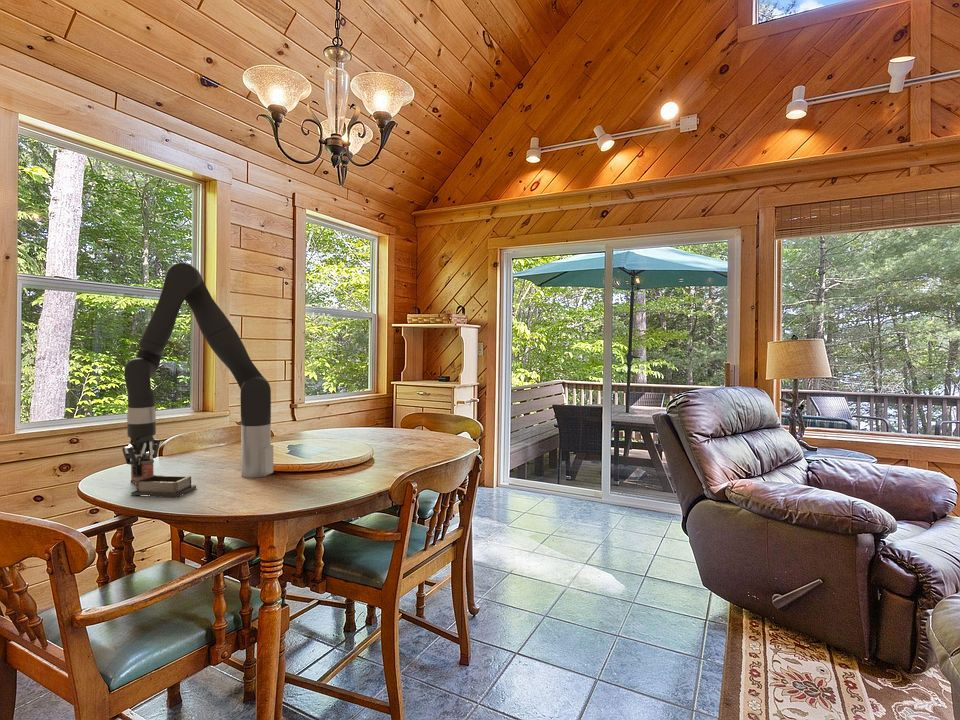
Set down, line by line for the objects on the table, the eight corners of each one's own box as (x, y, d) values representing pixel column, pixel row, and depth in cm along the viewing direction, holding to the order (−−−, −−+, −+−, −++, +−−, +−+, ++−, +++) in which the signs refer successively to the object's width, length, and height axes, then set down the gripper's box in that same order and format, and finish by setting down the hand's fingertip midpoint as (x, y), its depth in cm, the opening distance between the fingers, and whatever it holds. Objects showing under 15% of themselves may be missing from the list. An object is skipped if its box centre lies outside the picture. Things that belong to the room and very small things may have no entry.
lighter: (157, 482, 163) (156, 451, 163) (147, 485, 160) (147, 454, 160) (137, 480, 165) (136, 449, 165) (127, 483, 162) (127, 452, 162)
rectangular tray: (152, 487, 159) (152, 474, 159) (196, 488, 158) (196, 475, 158) (131, 495, 150) (130, 482, 150) (177, 497, 149) (176, 483, 149)
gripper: (136, 425, 155) (137, 481, 155) (168, 417, 169) (168, 469, 169) (112, 424, 155) (113, 480, 156) (146, 417, 169) (147, 468, 170)
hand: (142, 474), depth 163 cm, fingers closed on lighter, 3 cm apart
